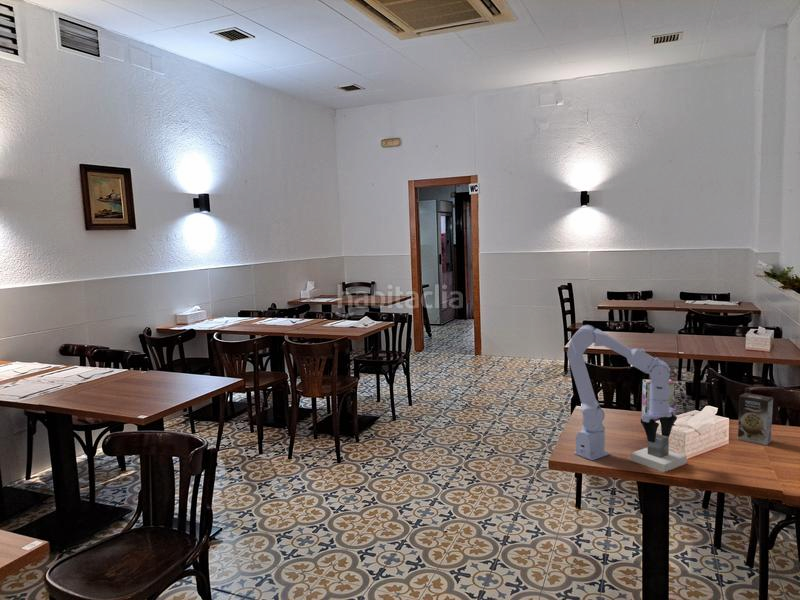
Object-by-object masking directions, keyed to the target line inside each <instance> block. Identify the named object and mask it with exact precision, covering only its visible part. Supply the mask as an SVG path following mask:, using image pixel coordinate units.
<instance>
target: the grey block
mask: <svg viewBox="0 0 800 600" xmlns="http://www.w3.org/2000/svg"><path fill="white" fill-rule="evenodd" d="M669 442H670V436H669V437H667V436H663V435H662V434H660V433H657V432H656V439H655V442H654V443H653V442H649V441H648V440H647V447H648V454H650V455H653V456H656V457H658V458H662V457H664V456H667V455H669V451H670V449H669V447H670V446H669V444H670V443H669Z"/></svg>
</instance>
